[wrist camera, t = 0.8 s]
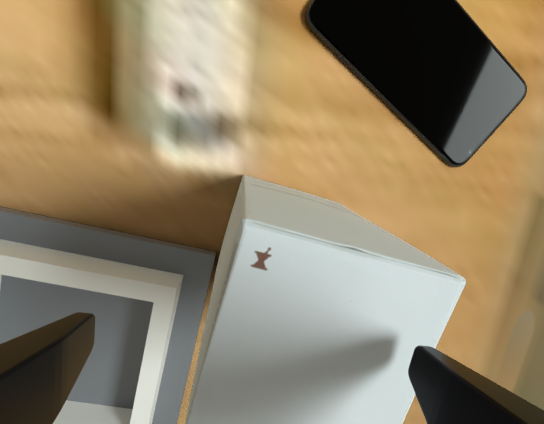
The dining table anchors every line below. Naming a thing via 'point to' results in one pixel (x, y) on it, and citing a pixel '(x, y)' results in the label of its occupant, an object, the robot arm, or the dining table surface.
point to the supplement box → (314, 315)
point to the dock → (108, 311)
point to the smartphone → (424, 67)
